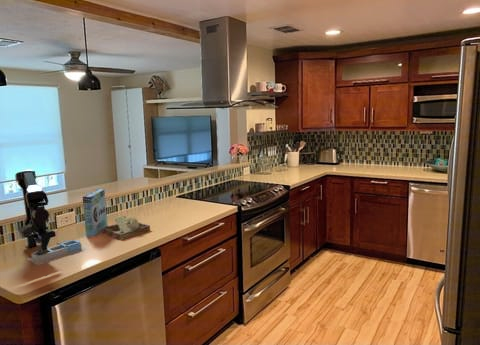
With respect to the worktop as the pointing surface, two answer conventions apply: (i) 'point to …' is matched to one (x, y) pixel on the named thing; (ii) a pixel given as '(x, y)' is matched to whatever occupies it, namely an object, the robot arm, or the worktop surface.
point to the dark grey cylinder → (40, 248)
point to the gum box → (95, 212)
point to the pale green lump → (127, 223)
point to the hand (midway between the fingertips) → (42, 249)
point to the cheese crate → (111, 232)
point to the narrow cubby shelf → (57, 252)
